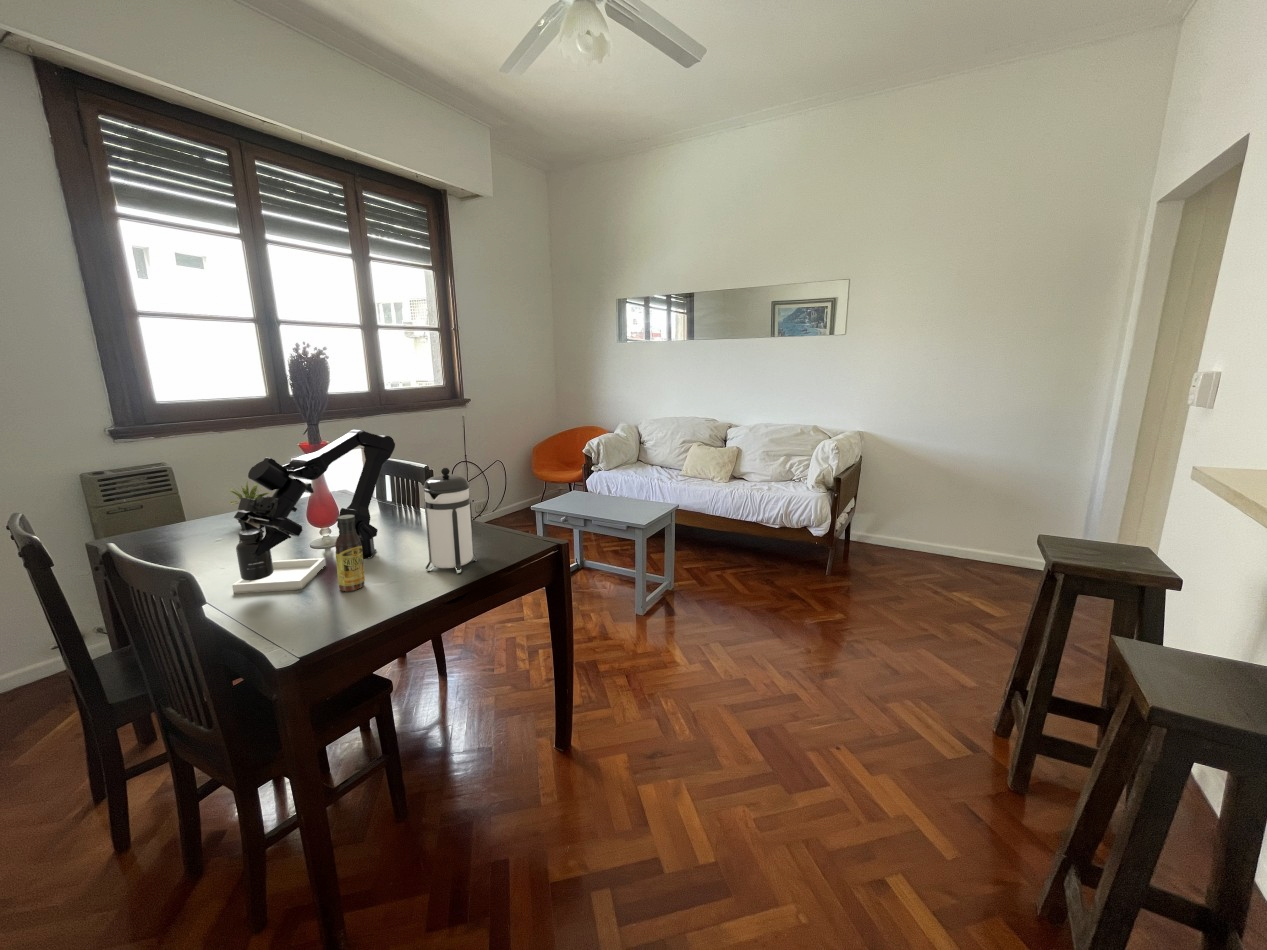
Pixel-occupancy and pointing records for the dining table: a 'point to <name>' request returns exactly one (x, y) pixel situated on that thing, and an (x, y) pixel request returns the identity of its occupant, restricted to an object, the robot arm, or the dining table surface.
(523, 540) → the dining table surface
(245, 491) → the house plant
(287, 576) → the tray
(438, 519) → the coffee press
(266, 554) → the supplement bottle
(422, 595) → the dining table surface
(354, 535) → the sauce bottle
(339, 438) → the robot arm
